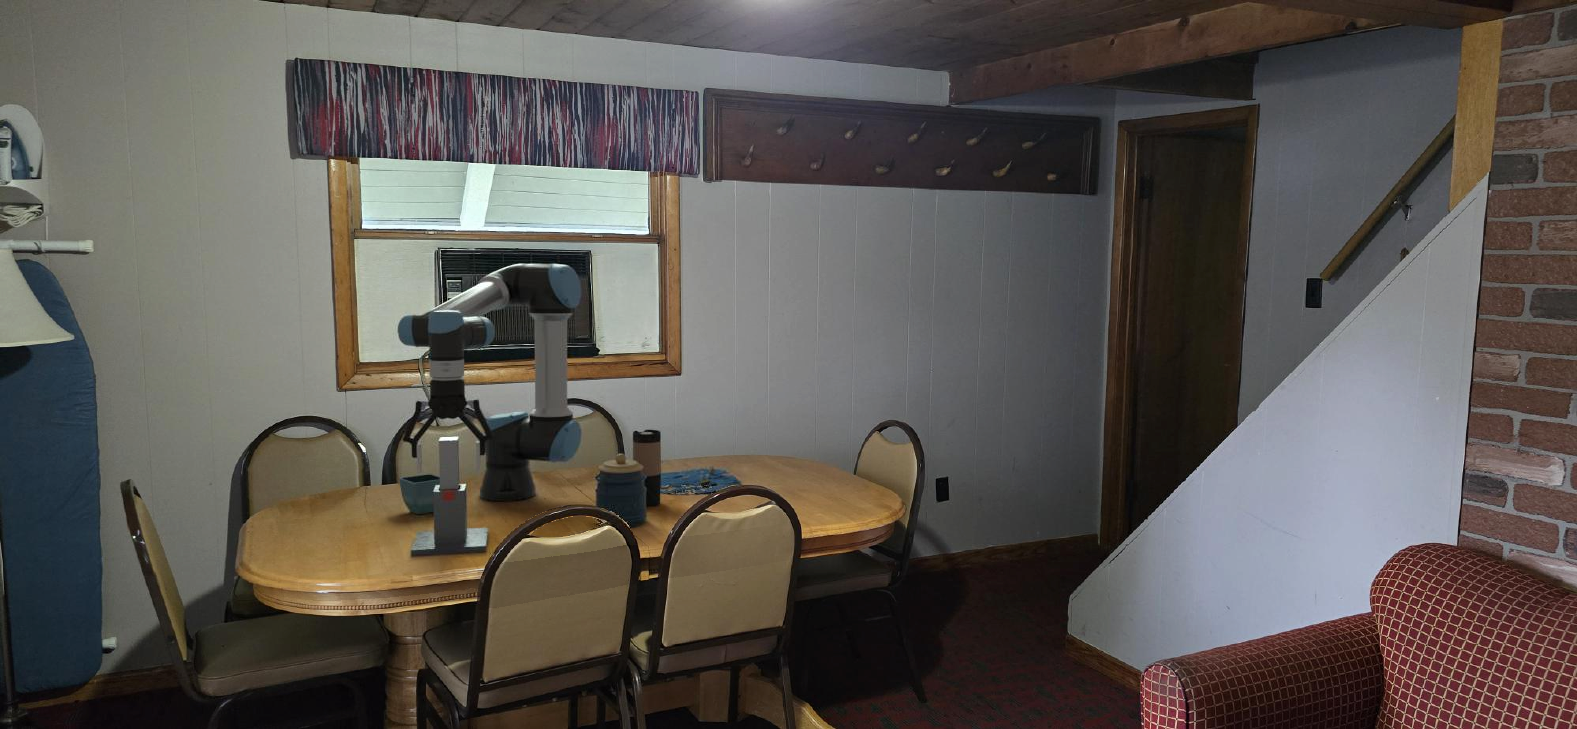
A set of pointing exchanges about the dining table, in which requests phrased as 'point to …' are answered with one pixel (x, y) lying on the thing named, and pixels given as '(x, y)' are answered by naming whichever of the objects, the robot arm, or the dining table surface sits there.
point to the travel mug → (649, 462)
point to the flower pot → (419, 492)
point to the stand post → (449, 463)
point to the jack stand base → (450, 527)
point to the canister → (622, 490)
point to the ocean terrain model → (697, 480)
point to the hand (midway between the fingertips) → (449, 470)
